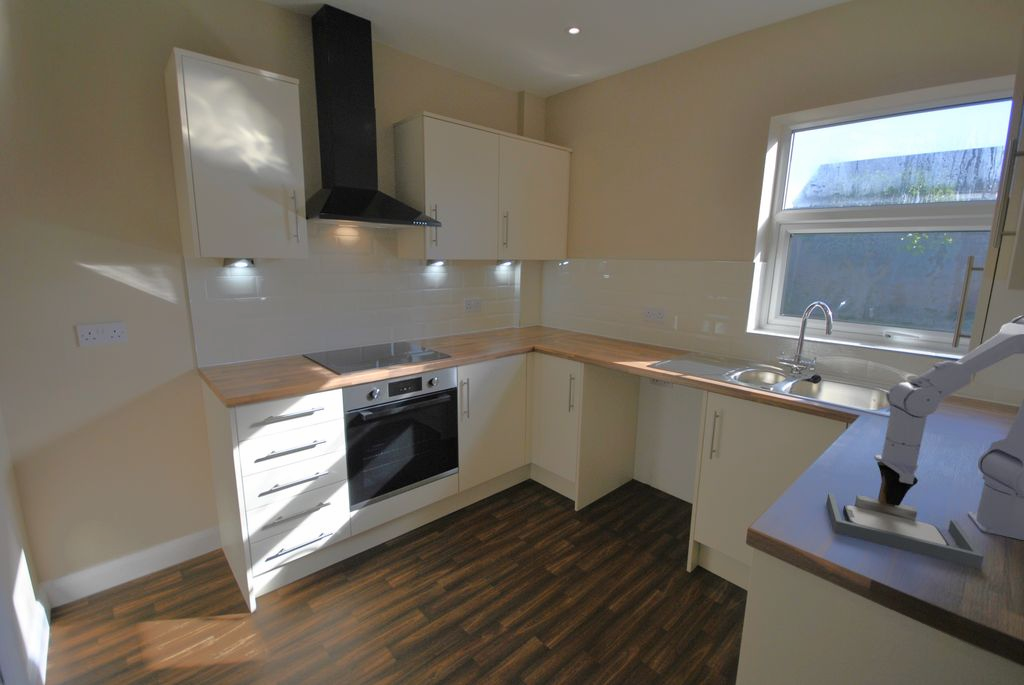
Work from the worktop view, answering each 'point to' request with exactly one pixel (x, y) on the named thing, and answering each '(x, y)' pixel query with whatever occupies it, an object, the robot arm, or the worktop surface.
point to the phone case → (893, 524)
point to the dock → (910, 539)
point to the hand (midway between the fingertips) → (890, 500)
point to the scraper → (885, 505)
